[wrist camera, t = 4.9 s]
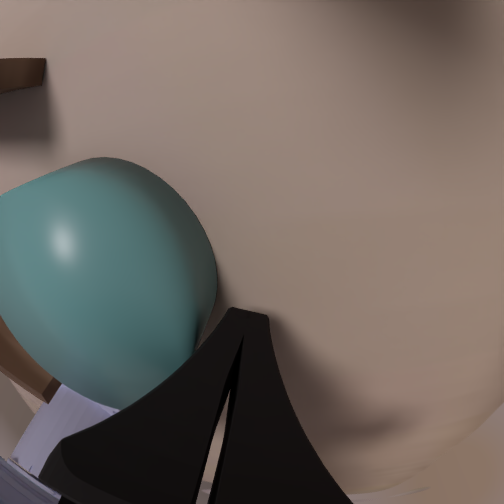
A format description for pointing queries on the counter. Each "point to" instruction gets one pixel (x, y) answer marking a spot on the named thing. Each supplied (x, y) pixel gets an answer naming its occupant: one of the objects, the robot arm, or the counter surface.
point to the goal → (3, 341)
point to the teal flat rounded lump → (104, 277)
